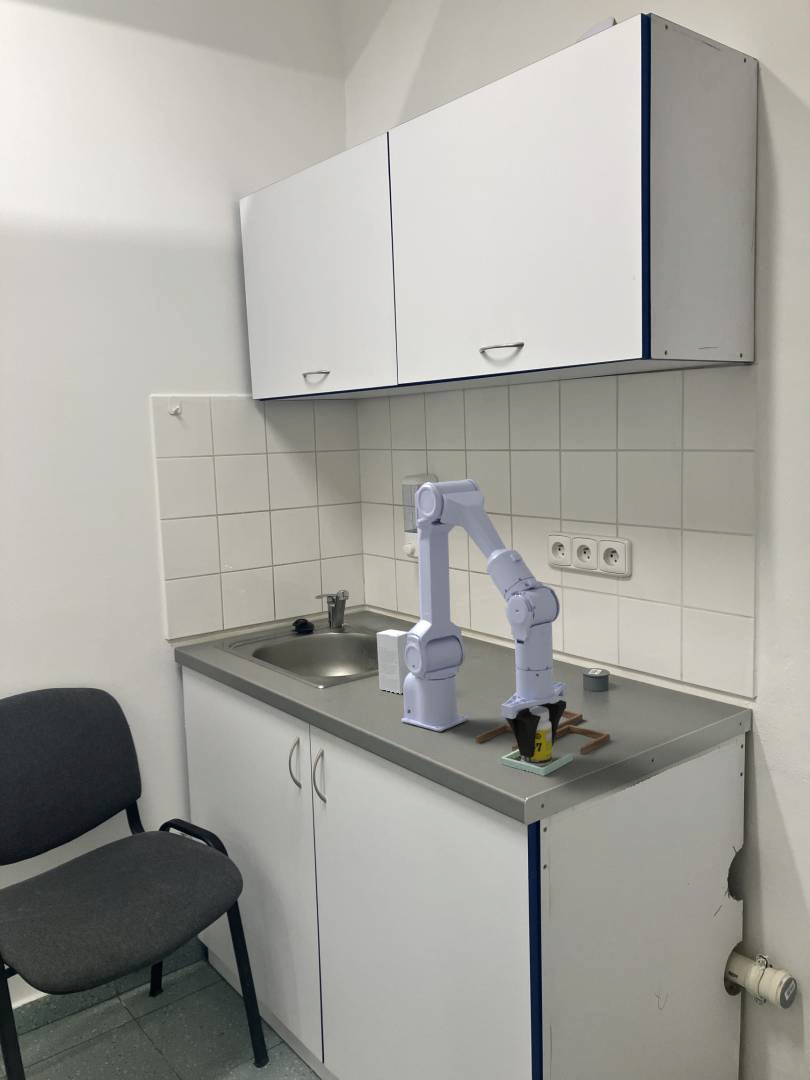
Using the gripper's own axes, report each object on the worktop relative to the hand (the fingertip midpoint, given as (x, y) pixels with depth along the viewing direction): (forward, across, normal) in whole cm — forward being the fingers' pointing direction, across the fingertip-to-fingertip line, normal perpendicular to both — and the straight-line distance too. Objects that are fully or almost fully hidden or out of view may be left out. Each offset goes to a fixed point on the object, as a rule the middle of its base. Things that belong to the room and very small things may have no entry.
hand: (536, 750), depth 138 cm
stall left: (+2, +17, +9) cm, 19 cm away
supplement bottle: (+2, 0, 0) cm, 2 cm away
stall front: (+2, +11, 0) cm, 11 cm away
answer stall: (+2, 0, 0) cm, 2 cm away
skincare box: (+2, +15, +45) cm, 47 cm away
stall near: (+2, +5, +9) cm, 10 cm away
